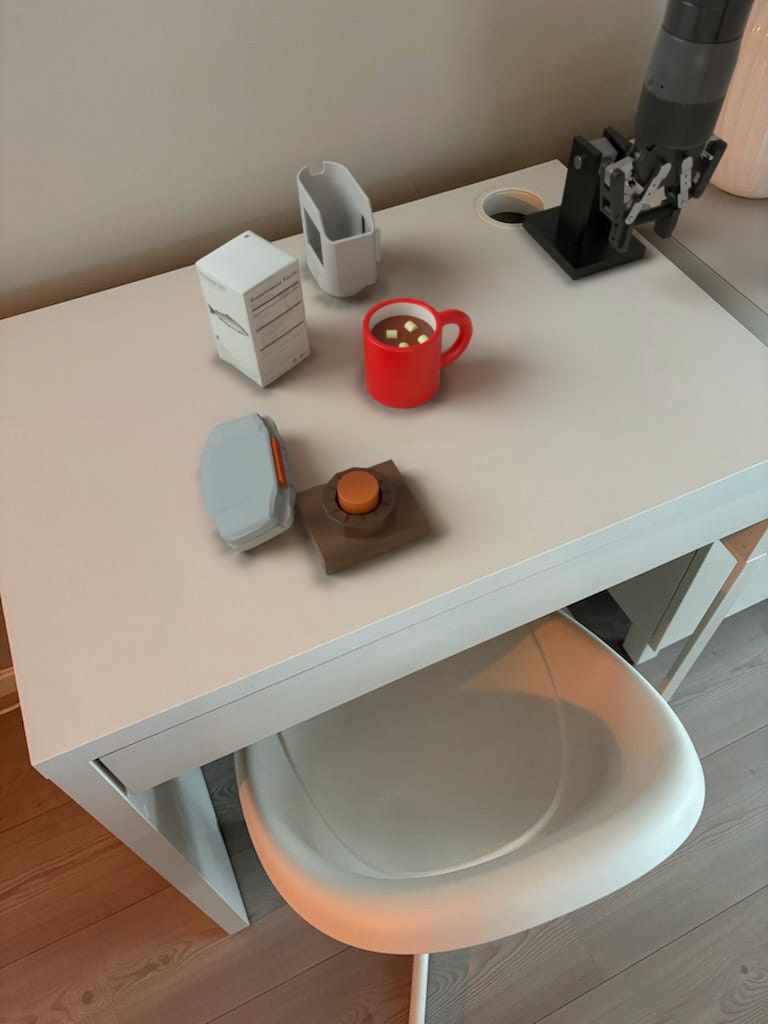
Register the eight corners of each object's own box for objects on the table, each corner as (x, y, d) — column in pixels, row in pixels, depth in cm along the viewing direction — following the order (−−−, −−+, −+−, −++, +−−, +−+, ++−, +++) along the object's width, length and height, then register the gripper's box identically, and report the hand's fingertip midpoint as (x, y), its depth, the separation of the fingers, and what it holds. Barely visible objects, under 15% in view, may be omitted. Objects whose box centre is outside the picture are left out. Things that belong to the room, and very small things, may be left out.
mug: (486, 378, 80) (494, 320, 73) (386, 418, 77) (385, 361, 70) (449, 334, 84) (453, 275, 77) (353, 370, 81) (348, 312, 74)
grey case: (222, 562, 67) (304, 532, 66) (206, 547, 65) (290, 515, 64) (208, 444, 76) (280, 415, 75) (193, 426, 73) (268, 396, 72)
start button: (385, 506, 66) (385, 494, 64) (348, 520, 65) (346, 509, 64) (369, 477, 68) (368, 465, 66) (332, 490, 67) (331, 478, 65)
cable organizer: (333, 318, 86) (324, 225, 76) (299, 257, 93) (286, 164, 83) (387, 303, 87) (385, 209, 77) (349, 244, 94) (343, 151, 84)
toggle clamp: (643, 257, 91) (674, 155, 81) (572, 280, 89) (595, 178, 78) (589, 206, 97) (611, 106, 87) (521, 226, 95) (536, 125, 85)
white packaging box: (218, 359, 82) (191, 260, 72) (268, 325, 85) (249, 226, 75) (262, 391, 79) (241, 293, 69) (313, 354, 82) (300, 256, 72)
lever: (667, 223, 82) (675, 205, 79) (628, 235, 80) (636, 217, 78) (609, 152, 86) (615, 133, 84) (571, 162, 85) (577, 144, 83)
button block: (428, 535, 68) (429, 509, 65) (326, 575, 66) (322, 551, 63) (392, 473, 72) (391, 446, 69) (295, 508, 70) (289, 482, 67)
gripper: (646, 116, 66) (604, 278, 79) (776, 81, 69) (714, 242, 83) (598, 79, 70) (565, 240, 83) (723, 48, 73) (672, 207, 87)
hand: (640, 240), depth 83 cm, fingers closed on lever, 5 cm apart
